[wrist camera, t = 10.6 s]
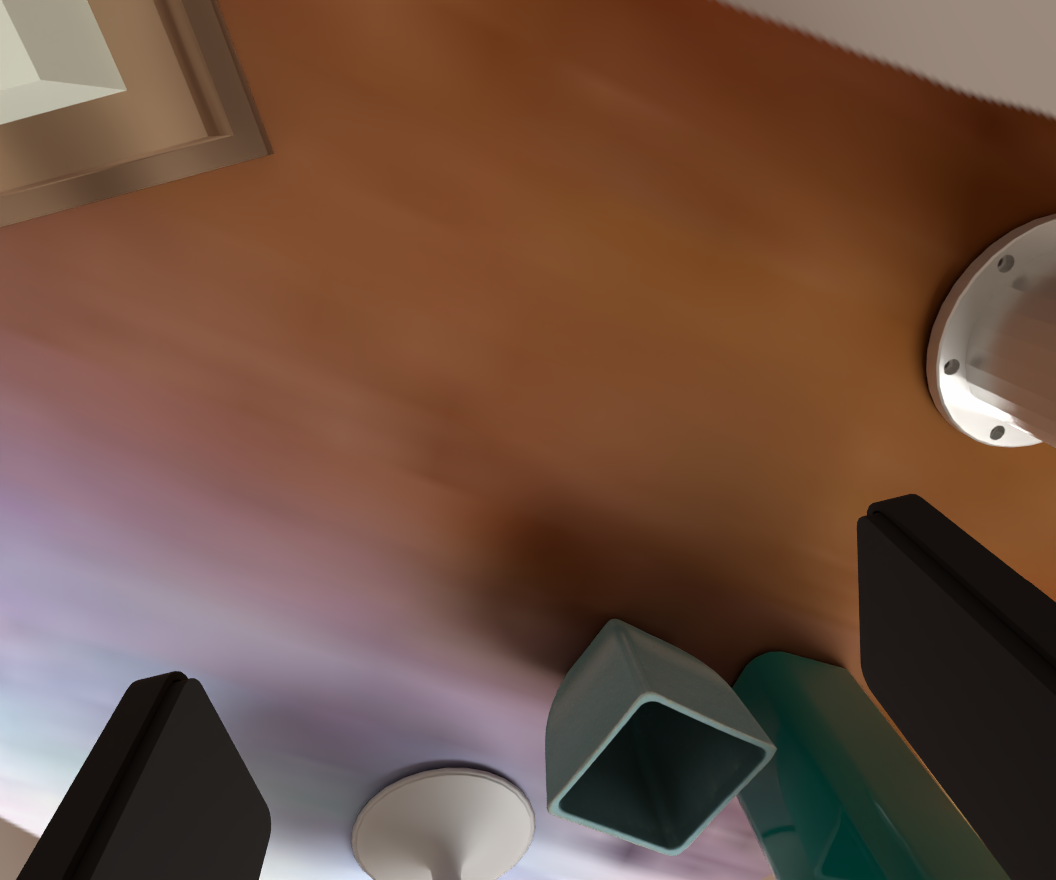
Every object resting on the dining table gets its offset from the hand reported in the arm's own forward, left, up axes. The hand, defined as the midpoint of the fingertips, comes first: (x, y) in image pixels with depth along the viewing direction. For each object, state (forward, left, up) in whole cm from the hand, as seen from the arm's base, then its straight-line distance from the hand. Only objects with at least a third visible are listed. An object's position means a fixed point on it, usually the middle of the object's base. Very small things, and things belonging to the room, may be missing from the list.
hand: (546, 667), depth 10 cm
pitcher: (-13, +31, -26) cm, 43 cm away
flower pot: (-3, +24, -26) cm, 36 cm away
